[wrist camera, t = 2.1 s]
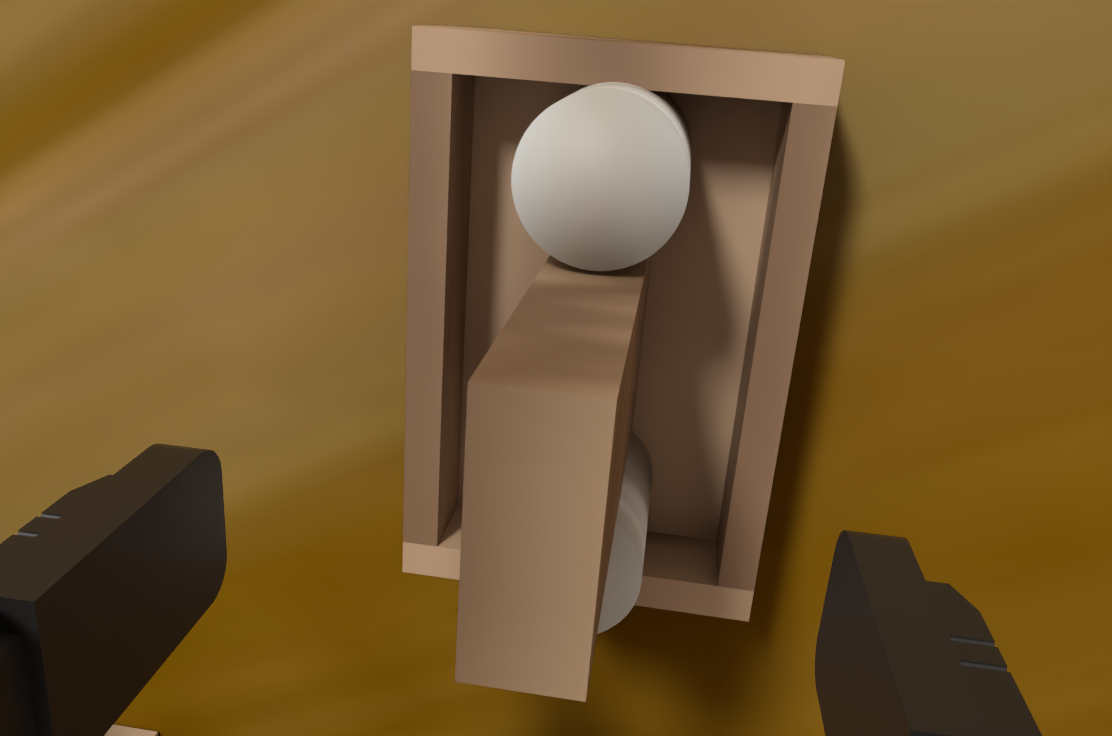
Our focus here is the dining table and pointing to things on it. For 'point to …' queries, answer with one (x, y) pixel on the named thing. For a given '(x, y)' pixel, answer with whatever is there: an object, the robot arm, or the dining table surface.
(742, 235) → the caddy
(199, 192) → the dining table surface
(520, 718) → the dining table surface
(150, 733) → the stool
